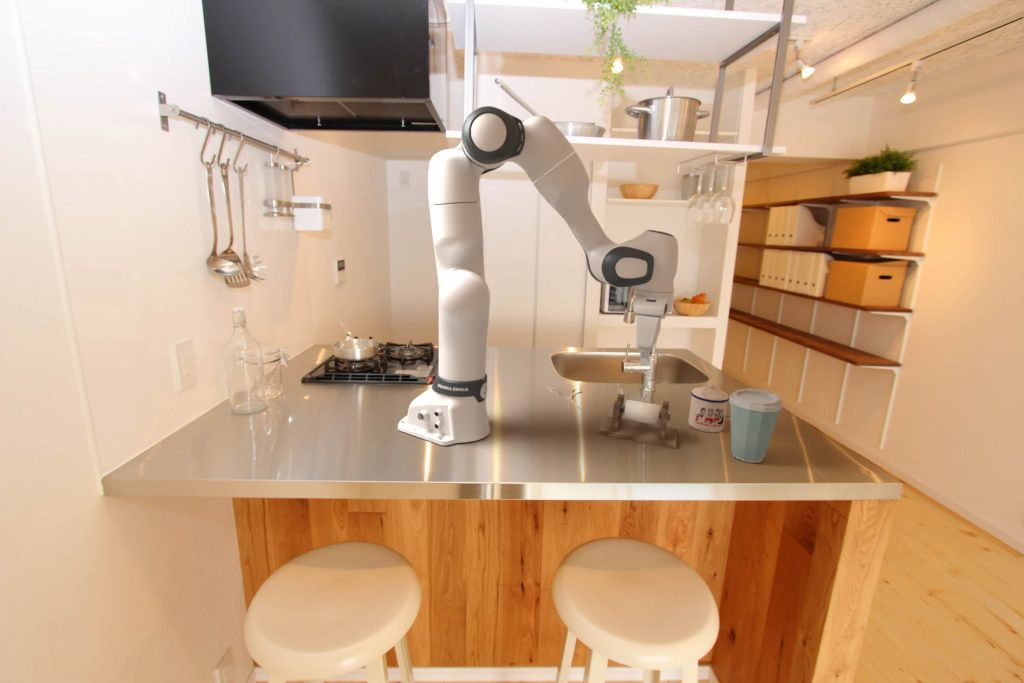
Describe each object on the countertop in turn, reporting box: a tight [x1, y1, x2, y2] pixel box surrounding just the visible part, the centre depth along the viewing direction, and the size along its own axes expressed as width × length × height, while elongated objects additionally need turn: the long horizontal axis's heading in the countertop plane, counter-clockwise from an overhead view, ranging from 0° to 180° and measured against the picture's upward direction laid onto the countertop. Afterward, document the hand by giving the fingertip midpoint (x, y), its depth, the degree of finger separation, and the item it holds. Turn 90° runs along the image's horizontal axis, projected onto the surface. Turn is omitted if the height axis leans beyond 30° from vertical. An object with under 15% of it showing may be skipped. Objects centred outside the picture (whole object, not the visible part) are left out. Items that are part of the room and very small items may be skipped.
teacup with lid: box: [687, 382, 731, 433], centre depth 123 cm, size 12×9×12 cm
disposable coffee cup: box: [728, 388, 783, 464], centre depth 107 cm, size 11×11×15 cm
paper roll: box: [620, 399, 671, 426], centre depth 116 cm, size 13×5×5 cm
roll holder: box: [598, 393, 679, 449], centre depth 117 cm, size 18×10×8 cm, turn 69°
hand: (646, 359), depth 114 cm, fingers open, 8 cm apart
